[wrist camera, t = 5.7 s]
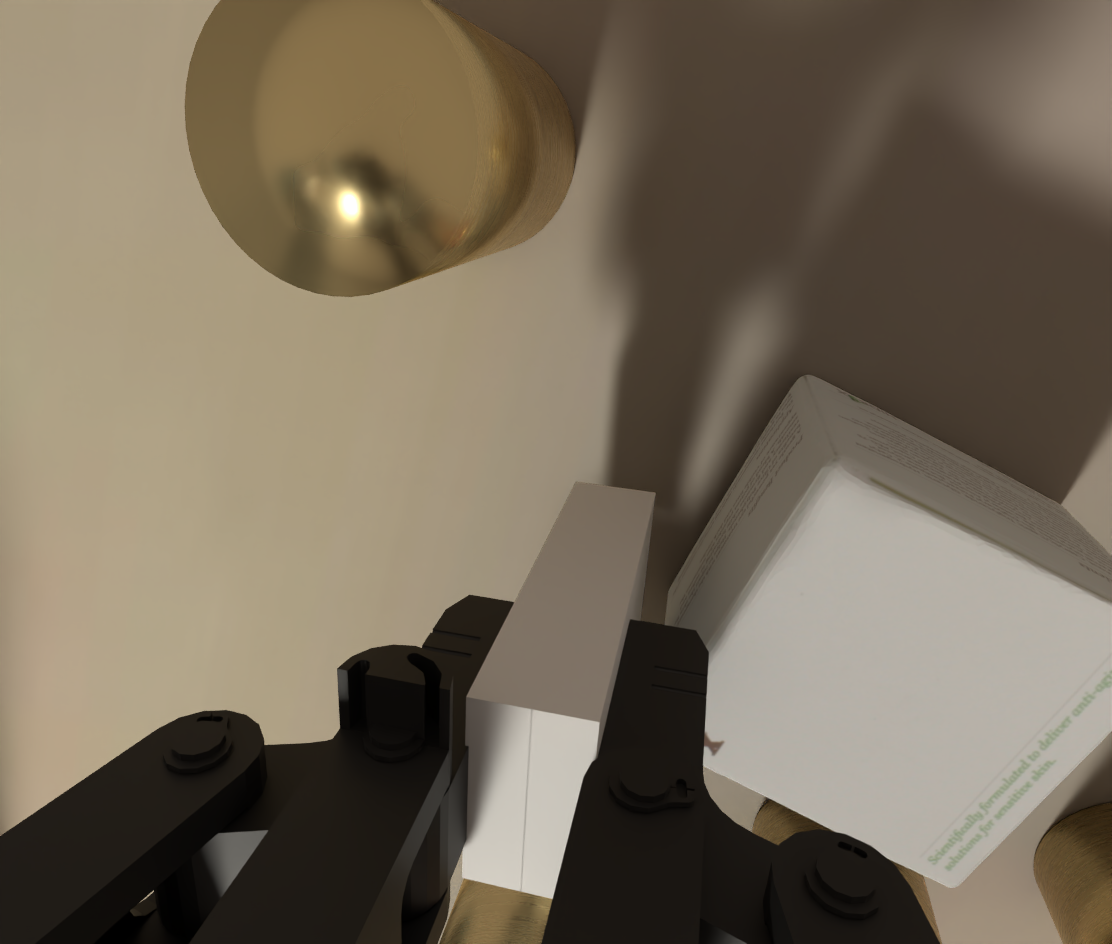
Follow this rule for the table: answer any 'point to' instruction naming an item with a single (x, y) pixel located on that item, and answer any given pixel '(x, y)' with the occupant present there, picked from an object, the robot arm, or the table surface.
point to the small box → (896, 634)
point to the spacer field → (445, 254)
